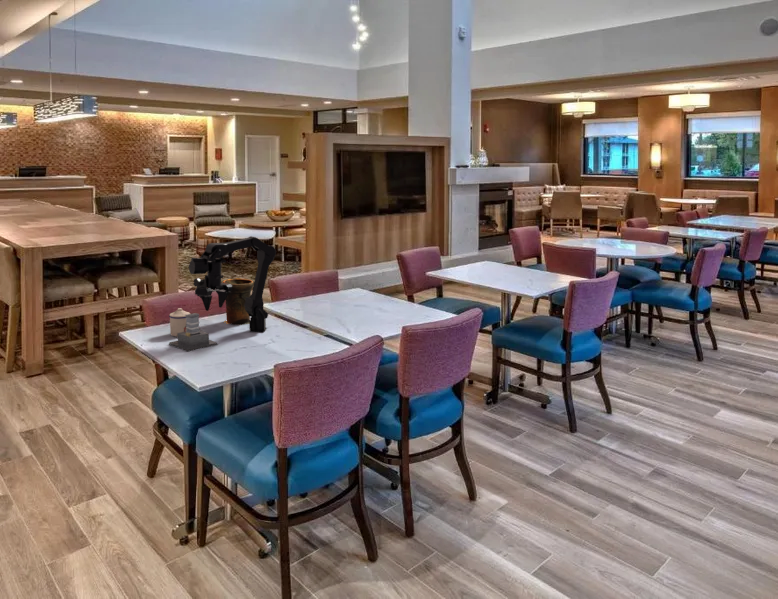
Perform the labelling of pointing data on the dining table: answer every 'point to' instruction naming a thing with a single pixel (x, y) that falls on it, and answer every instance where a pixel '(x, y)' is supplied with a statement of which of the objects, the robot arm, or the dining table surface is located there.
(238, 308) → the vessel
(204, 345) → the stand base
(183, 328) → the teacup with lid
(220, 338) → the dining table surface
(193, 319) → the column
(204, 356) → the dining table surface
